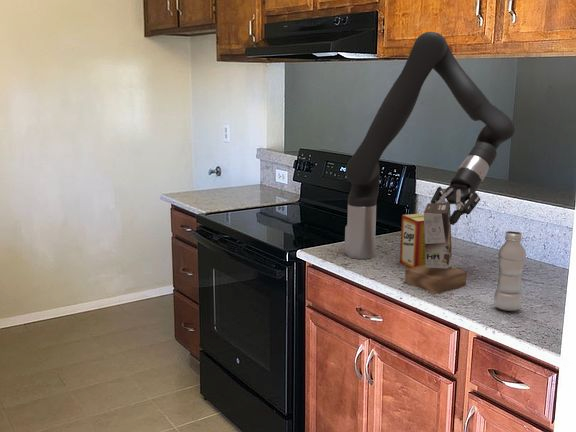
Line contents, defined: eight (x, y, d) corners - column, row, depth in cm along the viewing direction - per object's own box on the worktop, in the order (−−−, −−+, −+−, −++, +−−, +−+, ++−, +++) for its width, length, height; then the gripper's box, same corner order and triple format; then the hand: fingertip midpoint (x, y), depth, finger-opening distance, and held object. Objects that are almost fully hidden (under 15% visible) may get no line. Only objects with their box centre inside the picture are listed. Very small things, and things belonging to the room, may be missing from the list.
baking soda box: (434, 269, 190) (436, 218, 186) (415, 271, 188) (417, 220, 184) (417, 261, 198) (420, 212, 195) (399, 262, 196) (401, 213, 193)
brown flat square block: (405, 282, 177) (405, 269, 176) (432, 274, 184) (433, 262, 183) (438, 293, 168) (438, 279, 167) (465, 285, 175) (466, 271, 174)
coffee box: (449, 268, 169) (447, 213, 163) (425, 267, 171) (422, 212, 166) (452, 255, 177) (451, 202, 172) (429, 255, 179) (427, 202, 174)
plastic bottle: (498, 302, 161) (504, 228, 157) (524, 309, 157) (531, 232, 153) (489, 309, 156) (495, 233, 152) (515, 316, 152) (522, 237, 148)
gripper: (444, 163, 180) (415, 208, 176) (486, 169, 169) (456, 217, 165) (455, 180, 185) (427, 224, 180) (496, 186, 173) (467, 233, 169)
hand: (441, 220), depth 173 cm, fingers closed on coffee box, 6 cm apart
